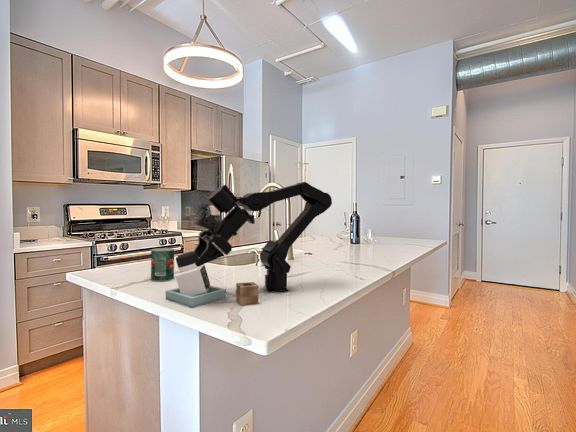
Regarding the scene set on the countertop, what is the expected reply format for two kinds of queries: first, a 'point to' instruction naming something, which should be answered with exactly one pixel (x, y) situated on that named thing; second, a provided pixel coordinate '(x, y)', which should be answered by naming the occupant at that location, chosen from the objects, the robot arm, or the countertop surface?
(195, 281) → the medicine bottle
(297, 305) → the countertop surface
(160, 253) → the canned tomato
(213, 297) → the tray
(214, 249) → the robot arm
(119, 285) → the countertop surface
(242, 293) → the brown open box
